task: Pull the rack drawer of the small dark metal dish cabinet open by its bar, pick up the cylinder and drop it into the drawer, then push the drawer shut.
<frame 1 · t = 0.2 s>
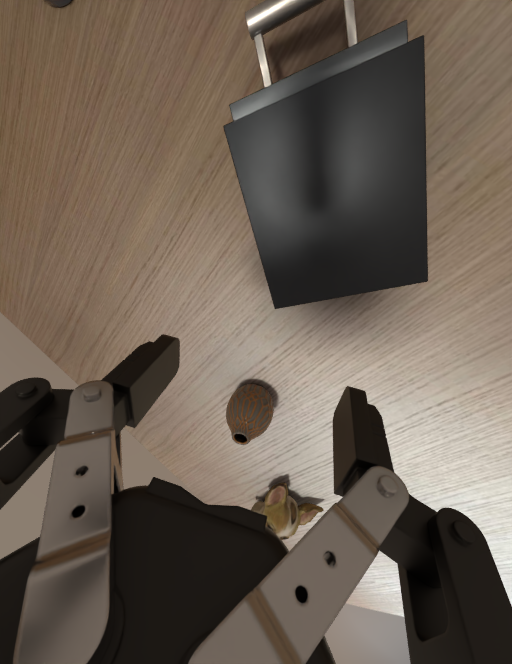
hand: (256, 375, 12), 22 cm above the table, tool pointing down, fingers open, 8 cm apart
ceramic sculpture: (281, 496, 55), on the table
drawer: (321, 148, 22), point 4 cm above the table, slide at 0.0 cm, touching cabinet
vase: (255, 393, 43), on the table
cabinet: (329, 199, 27), on the table
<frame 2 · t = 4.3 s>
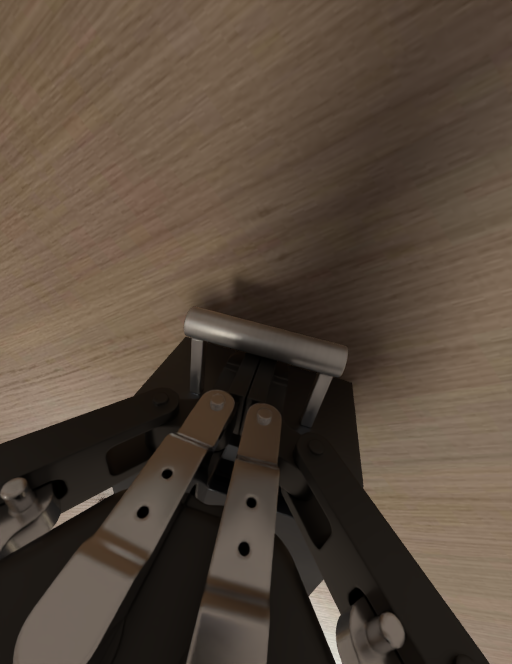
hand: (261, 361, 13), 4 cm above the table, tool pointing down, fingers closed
drawer: (243, 441, 17), point 4 cm above the table, slide at 1.2 cm
cabinet: (248, 438, 24), on the table
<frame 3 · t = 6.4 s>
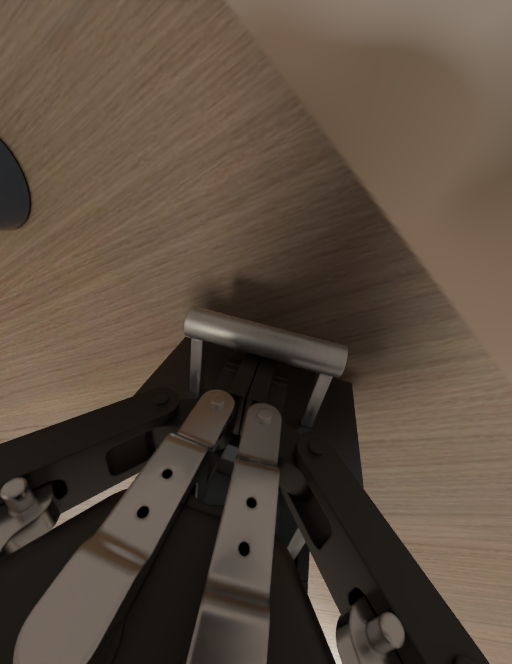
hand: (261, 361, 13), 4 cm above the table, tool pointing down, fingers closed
drawer: (243, 441, 17), point 4 cm above the table, slide at 9.9 cm
cabinet: (236, 489, 28), on the table
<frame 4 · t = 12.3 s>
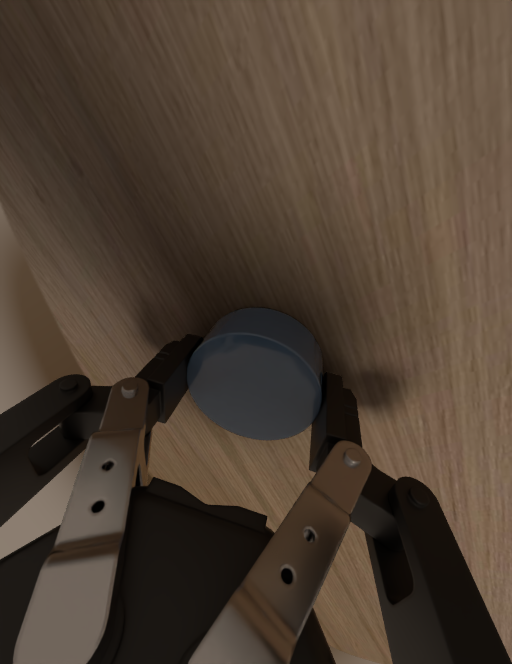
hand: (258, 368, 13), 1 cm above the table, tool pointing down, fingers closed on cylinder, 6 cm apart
cylinder: (262, 360, 13), on the table, touching gripper
when the fingers open (9 cm above the table, at t = 18.6 s): cylinder drops 6 cm, resting on drawer.
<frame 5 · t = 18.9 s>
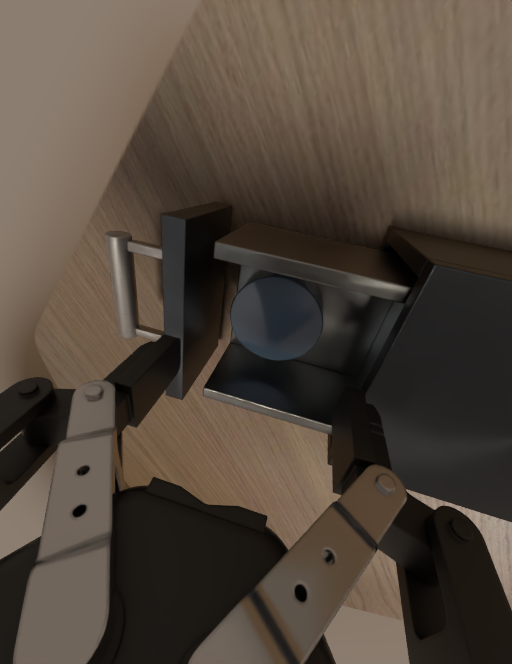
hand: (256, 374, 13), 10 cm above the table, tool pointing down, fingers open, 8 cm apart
cylinder: (280, 306, 19), point 2 cm above the table, touching drawer
drawer: (252, 315, 17), point 4 cm above the table, slide at 9.9 cm, touching cylinder
cabinet: (454, 338, 19), on the table
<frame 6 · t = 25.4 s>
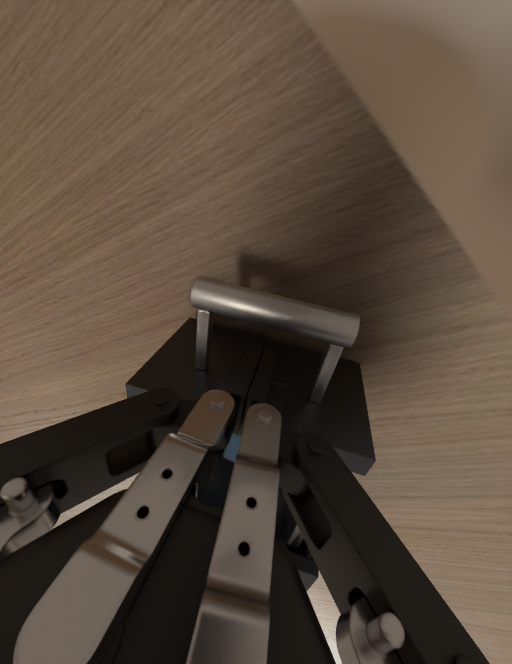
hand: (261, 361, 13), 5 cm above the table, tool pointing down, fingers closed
drawer: (248, 423, 17), point 4 cm above the table, slide at 9.1 cm, touching gripper, cylinder
cabinet: (240, 473, 27), on the table
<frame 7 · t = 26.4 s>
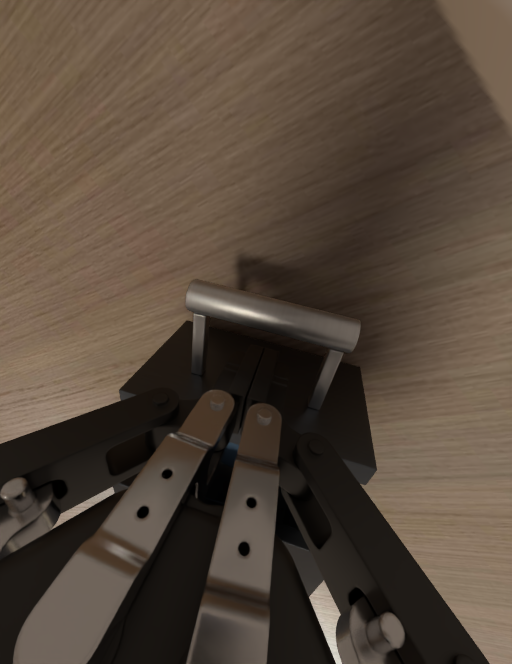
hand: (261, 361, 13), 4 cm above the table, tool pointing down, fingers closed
drawer: (246, 428, 16), point 4 cm above the table, slide at 5.1 cm, touching gripper, cylinder
cabinet: (244, 455, 25), on the table
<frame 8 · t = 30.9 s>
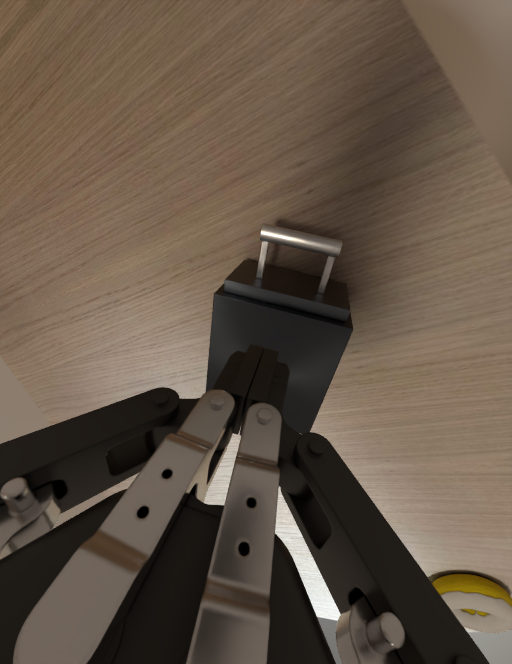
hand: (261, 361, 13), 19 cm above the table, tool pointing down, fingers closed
donut: (465, 584, 54), on the table
drawer: (281, 318, 29), point 4 cm above the table, slide at 0.0 cm, touching cylinder
cabinet: (279, 331, 34), on the table
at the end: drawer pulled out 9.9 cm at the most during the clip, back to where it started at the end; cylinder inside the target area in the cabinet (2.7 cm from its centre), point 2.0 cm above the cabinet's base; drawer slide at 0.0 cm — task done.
